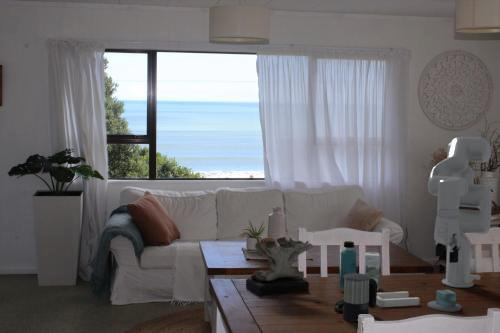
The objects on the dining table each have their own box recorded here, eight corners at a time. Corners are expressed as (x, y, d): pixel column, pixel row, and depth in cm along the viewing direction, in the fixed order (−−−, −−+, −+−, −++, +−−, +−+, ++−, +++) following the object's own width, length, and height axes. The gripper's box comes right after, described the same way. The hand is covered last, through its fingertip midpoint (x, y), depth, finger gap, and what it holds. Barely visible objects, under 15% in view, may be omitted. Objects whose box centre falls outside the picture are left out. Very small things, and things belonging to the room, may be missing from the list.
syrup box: (377, 287, 266) (378, 252, 265) (379, 290, 260) (380, 255, 259) (363, 286, 267) (364, 251, 266) (364, 290, 261) (365, 254, 260)
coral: (301, 282, 272) (302, 231, 270) (323, 295, 253) (325, 240, 251) (245, 287, 263) (245, 234, 261) (264, 300, 244) (265, 244, 242)
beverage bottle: (336, 292, 257) (338, 242, 256) (342, 288, 263) (343, 239, 262) (352, 294, 254) (354, 243, 253) (358, 290, 260) (359, 241, 259)
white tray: (406, 297, 251) (406, 291, 251) (419, 305, 241) (419, 298, 241) (369, 299, 247) (369, 293, 247) (380, 307, 237) (380, 300, 237)
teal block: (447, 302, 242) (448, 289, 242) (455, 306, 237) (456, 293, 237) (435, 303, 241) (436, 290, 241) (443, 307, 236) (443, 294, 236)
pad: (450, 301, 246) (450, 300, 246) (468, 310, 235) (468, 309, 235) (421, 303, 243) (421, 301, 243) (438, 312, 232) (438, 310, 232)
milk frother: (361, 324, 217) (362, 280, 216) (320, 315, 227) (321, 273, 225) (379, 314, 229) (381, 273, 228) (340, 306, 238) (341, 266, 237)
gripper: (426, 209, 244) (425, 254, 246) (451, 217, 227) (449, 265, 229) (444, 208, 246) (443, 253, 248) (470, 216, 229) (468, 264, 231)
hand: (446, 259), depth 238 cm, fingers open, 9 cm apart
